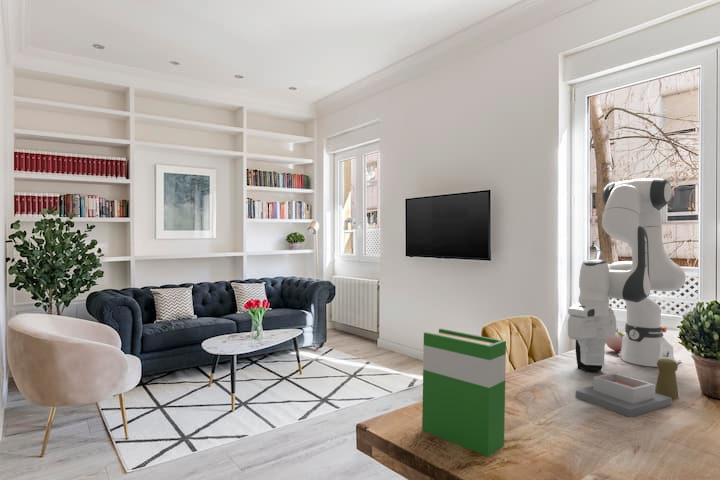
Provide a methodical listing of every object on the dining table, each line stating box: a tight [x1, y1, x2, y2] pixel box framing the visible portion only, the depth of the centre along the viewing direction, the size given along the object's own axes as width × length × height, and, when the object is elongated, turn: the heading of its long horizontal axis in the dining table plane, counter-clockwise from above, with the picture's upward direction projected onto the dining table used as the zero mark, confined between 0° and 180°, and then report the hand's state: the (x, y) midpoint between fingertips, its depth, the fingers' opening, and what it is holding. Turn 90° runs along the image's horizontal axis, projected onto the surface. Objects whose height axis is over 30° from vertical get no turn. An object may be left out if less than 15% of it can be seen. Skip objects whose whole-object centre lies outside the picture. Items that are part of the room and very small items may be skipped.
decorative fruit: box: [605, 328, 626, 353], centre depth 184 cm, size 9×8×10 cm
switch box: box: [575, 372, 673, 418], centre depth 129 cm, size 20×16×6 cm
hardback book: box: [421, 328, 507, 457], centre depth 104 cm, size 18×7×24 cm, turn 45°
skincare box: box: [581, 328, 606, 367], centre depth 144 cm, size 6×4×12 cm
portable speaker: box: [575, 340, 606, 374], centre depth 159 cm, size 9×9×20 cm
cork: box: [654, 359, 679, 400], centre depth 134 cm, size 6×6×11 cm
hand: (592, 351), depth 144 cm, fingers closed on skincare box, 7 cm apart
